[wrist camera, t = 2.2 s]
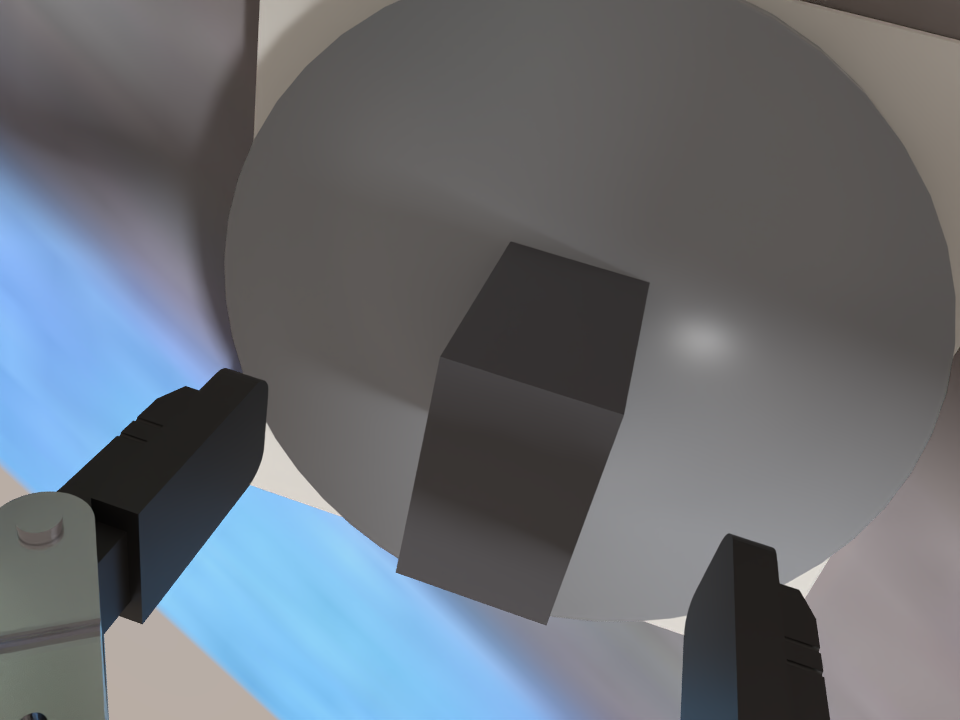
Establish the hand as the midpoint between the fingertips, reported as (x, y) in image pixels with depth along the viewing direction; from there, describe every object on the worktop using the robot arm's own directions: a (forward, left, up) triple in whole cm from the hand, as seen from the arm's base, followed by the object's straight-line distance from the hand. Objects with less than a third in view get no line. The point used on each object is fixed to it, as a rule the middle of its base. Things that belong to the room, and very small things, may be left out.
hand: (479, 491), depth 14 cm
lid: (0, 0, -6) cm, 6 cm away
